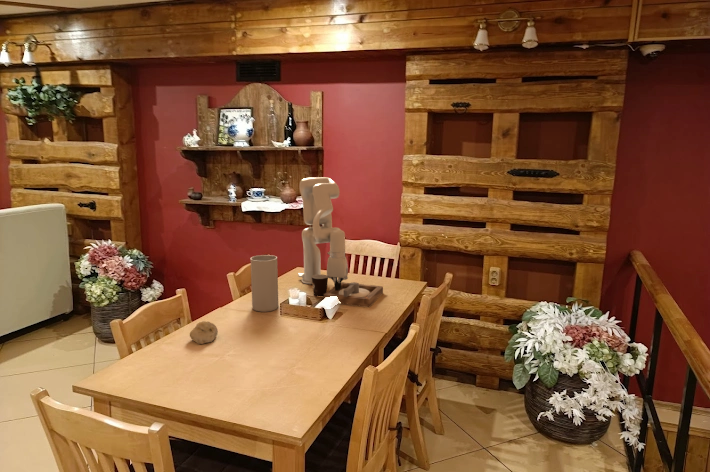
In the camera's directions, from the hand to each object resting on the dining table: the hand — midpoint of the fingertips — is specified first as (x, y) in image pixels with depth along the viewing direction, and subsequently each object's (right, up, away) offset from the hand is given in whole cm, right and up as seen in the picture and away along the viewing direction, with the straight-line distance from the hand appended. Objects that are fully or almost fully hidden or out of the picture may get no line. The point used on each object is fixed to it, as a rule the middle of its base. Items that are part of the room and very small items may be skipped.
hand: (337, 289), depth 257 cm
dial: (+8, -3, +1) cm, 8 cm away
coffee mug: (-10, -4, +10) cm, 14 cm away
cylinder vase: (-35, -8, -12) cm, 38 cm away
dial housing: (+8, -5, +4) cm, 10 cm away
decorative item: (-53, -15, -51) cm, 75 cm away
